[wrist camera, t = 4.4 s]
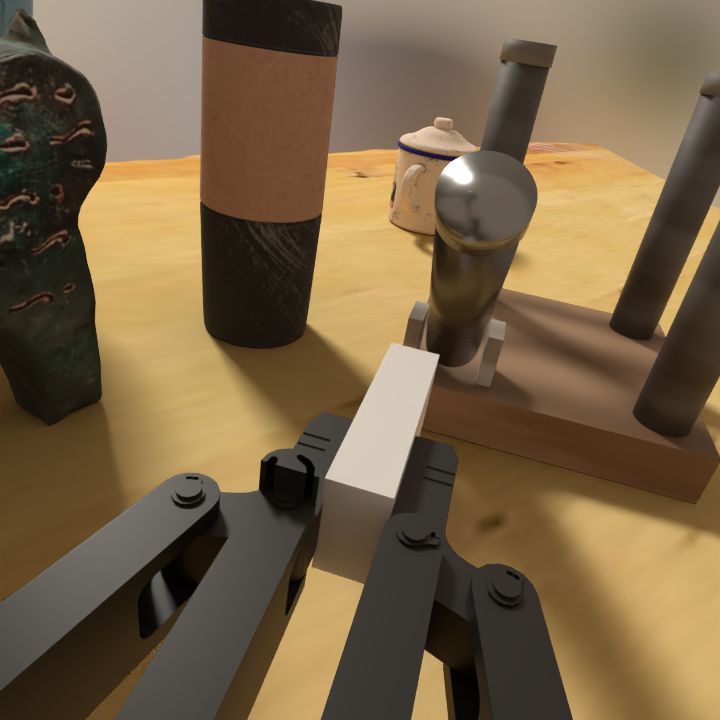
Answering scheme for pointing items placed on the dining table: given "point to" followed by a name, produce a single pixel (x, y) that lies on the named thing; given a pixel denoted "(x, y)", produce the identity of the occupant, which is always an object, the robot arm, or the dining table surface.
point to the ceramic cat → (46, 225)
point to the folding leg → (474, 248)
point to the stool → (598, 330)
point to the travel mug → (263, 162)
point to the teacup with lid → (423, 173)
